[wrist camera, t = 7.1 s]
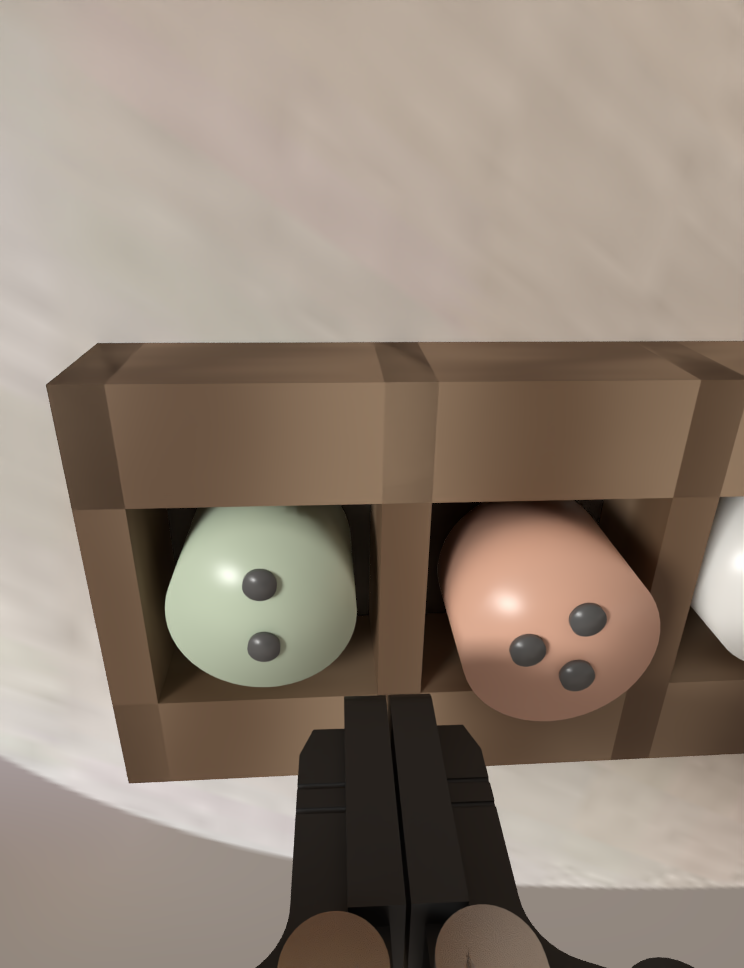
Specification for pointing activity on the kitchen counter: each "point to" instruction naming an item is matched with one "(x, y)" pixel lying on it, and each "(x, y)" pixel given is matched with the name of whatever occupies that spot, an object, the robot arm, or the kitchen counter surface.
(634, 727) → the wooden compartment tray
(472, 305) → the kitchen counter surface
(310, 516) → the button two
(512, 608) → the button three
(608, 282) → the kitchen counter surface
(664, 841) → the kitchen counter surface
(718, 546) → the button one
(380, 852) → the robot arm
